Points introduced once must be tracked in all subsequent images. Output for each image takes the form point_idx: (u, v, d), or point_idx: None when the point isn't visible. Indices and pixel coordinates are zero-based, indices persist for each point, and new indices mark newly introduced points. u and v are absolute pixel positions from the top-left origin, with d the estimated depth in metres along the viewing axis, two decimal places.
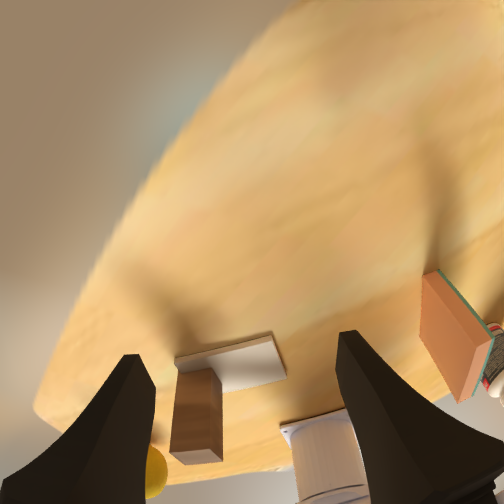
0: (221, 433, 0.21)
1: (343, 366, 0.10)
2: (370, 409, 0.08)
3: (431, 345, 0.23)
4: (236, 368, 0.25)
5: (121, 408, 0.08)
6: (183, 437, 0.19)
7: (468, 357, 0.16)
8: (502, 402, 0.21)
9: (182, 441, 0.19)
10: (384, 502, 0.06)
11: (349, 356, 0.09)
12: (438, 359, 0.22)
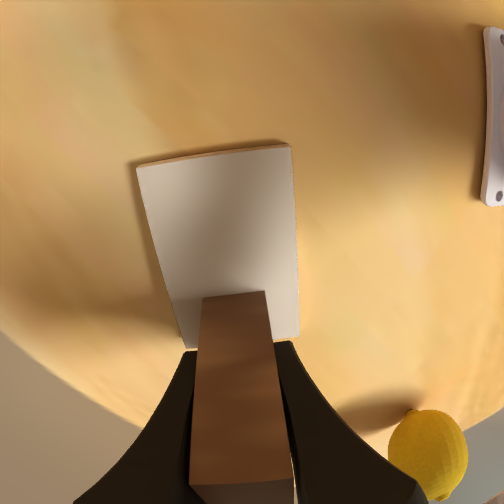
0: (274, 398, 0.08)
1: None
2: (289, 425, 0.08)
3: None
4: (214, 253, 0.11)
5: None
6: None
7: None
8: None
9: None
10: None
11: None
12: None
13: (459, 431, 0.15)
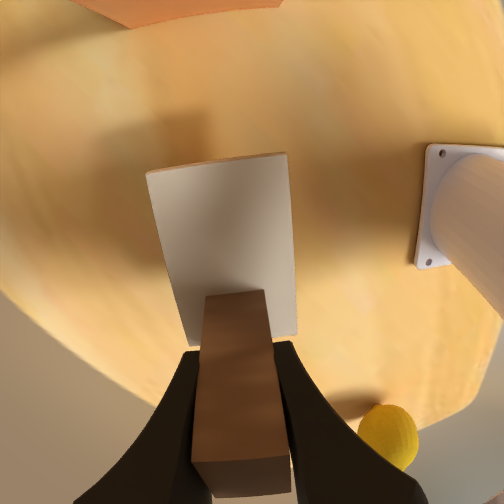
0: (272, 384, 0.09)
1: None
2: (289, 425, 0.08)
3: None
4: (216, 254, 0.12)
5: (194, 408, 0.08)
6: None
7: None
8: None
9: None
10: None
11: None
12: None
13: (410, 421, 0.22)
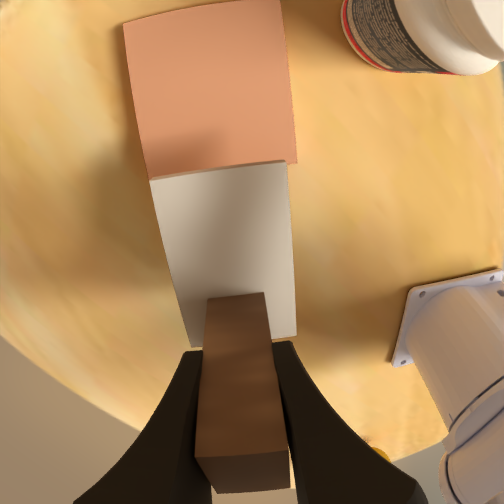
0: (271, 383, 0.09)
1: None
2: (289, 425, 0.08)
3: (266, 116, 0.13)
4: (218, 257, 0.13)
5: (194, 408, 0.08)
6: None
7: (155, 23, 0.11)
8: None
9: None
10: None
11: (275, 368, 0.09)
12: (267, 83, 0.13)
13: None
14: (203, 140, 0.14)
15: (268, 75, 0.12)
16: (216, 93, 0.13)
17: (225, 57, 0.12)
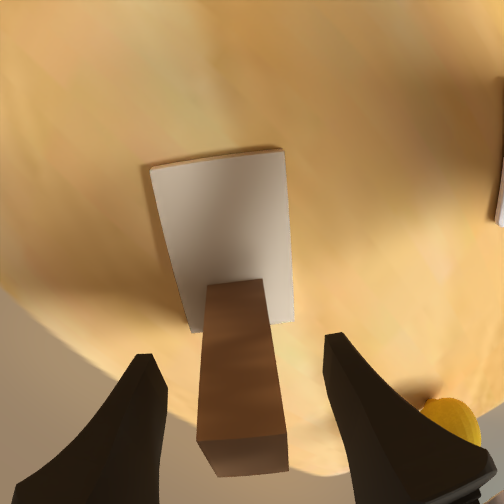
0: (270, 368, 0.09)
1: (329, 369, 0.10)
2: (353, 413, 0.08)
3: None
4: (217, 245, 0.13)
5: (136, 409, 0.08)
6: None
7: None
8: None
9: None
10: None
11: (334, 359, 0.09)
12: None
13: (473, 415, 0.17)
14: None
15: None
16: None
17: None
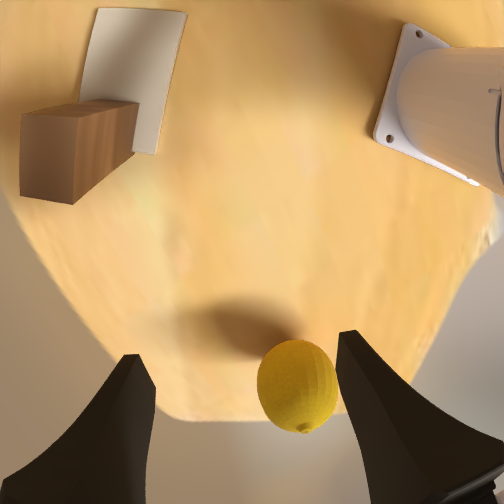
0: (101, 110, 0.10)
1: (343, 366, 0.10)
2: (370, 409, 0.08)
3: None
4: (118, 67, 0.14)
5: (121, 408, 0.08)
6: None
7: None
8: None
9: None
10: (384, 502, 0.06)
11: (349, 356, 0.09)
12: None
13: (331, 366, 0.20)
14: None
15: None
16: None
17: None
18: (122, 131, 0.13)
